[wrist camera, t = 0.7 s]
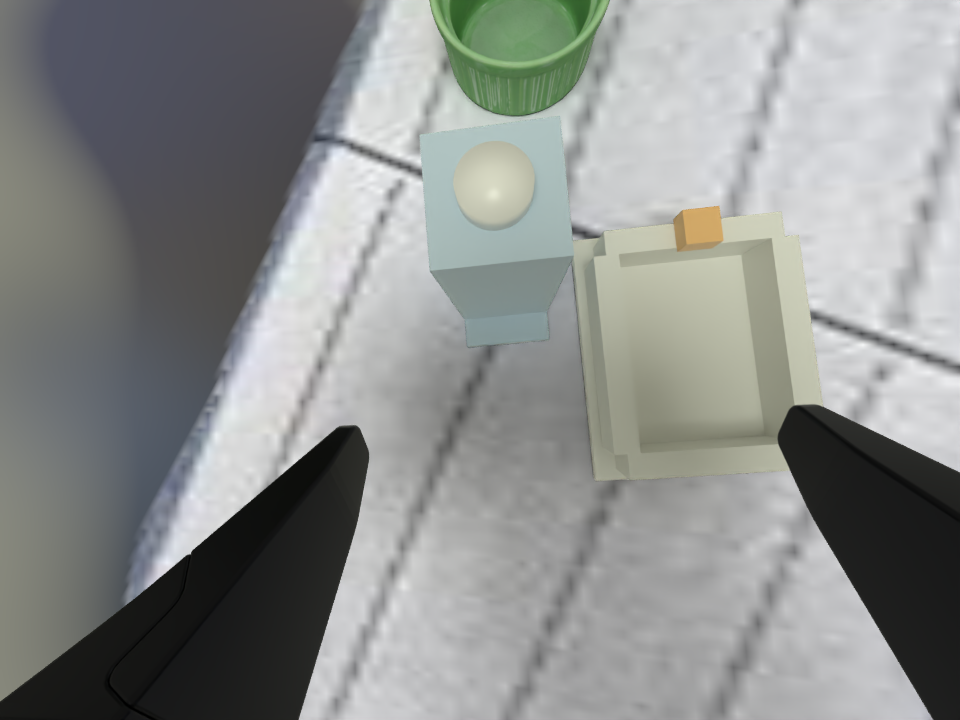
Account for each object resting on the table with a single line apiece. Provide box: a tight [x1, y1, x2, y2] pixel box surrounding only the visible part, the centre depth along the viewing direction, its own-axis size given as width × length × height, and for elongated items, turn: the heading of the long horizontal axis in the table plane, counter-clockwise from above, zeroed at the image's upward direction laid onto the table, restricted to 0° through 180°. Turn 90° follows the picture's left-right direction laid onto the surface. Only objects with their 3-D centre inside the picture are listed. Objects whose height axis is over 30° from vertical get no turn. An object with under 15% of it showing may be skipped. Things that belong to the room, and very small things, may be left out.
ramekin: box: [430, 0, 610, 115], centre depth 21 cm, size 9×9×4 cm
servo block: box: [420, 116, 574, 348], centre depth 17 cm, size 8×4×11 cm, turn 5°
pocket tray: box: [572, 206, 823, 481], centre depth 19 cm, size 13×10×4 cm
